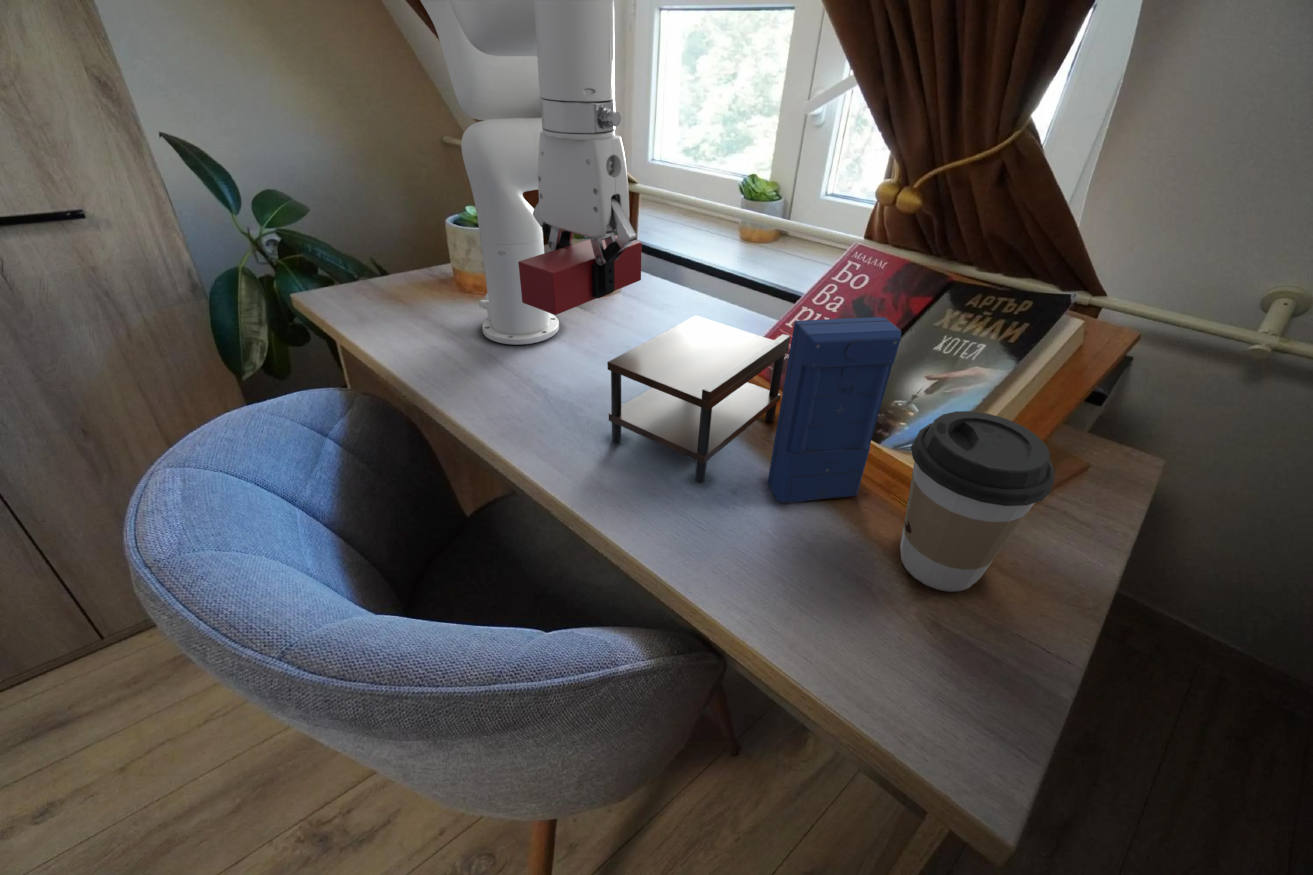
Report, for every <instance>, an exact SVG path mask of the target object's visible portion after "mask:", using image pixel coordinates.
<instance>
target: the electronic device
mask: <svg viewBox="0 0 1313 875" xmlns="http://www.w3.org/2000/svg"><path fill="white" fill-rule="evenodd" d="M901 338H902V330H901V329H900V328H898V327H897V326H896V325H895V324H894V323H893V322H891V321H890V320H889V319H888V318H886V317H885V316H874V317H851V318H828V319H827V318H826V319H805V320H804V319H803V320H801V319H800V320H795V321H794V324H793V330H792V336H791V340H790V342H791V343H790V346H789V352H788V353H789V354H788V359H787V366H786V371H785V377H784V383H783V390H782V394H781V399H780V407H779V413H778V418H777V422H776V423H777V425H776V430H775V434H774V435H775V436H774V440H773V441H774V442H773V448H772V454H771V459H770V464H769V471H768V477H767V484H768V487H769V488H770V490H771V492H772V494H773V496H774V498H775V500H776V501H777V502H781V503H794V502H803V501H805V502H807V501H815V500H826V499H828V500H829V499H836V498H838V499H839V498H847V497H848V498H849V497H857V495H858V492H859V490H860V486H861V483H862V482H861V481H862V479H863V475H864V472H865V469H866V464H867V461H868V457H869V454H870V449H871V442H872V440H873V439H872V438H873V436H874V432H875V428H876V425H877V421H878V417H879V414H880V410H881V407H882V404H883V400H884V396H885V393H886V389H887V385H888V382H889V379H890V375H891V371H892V368H893V365H894V364H895V361H896V357H897V354H898V351H899V347H900V343H901Z"/></svg>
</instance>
